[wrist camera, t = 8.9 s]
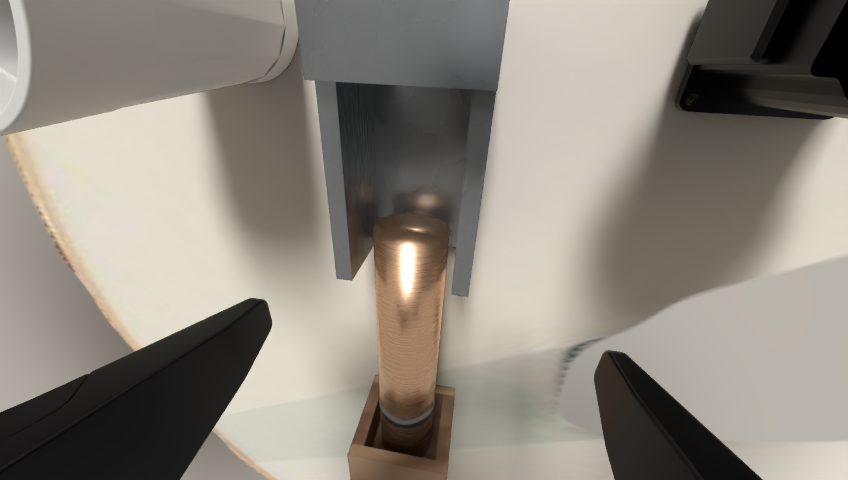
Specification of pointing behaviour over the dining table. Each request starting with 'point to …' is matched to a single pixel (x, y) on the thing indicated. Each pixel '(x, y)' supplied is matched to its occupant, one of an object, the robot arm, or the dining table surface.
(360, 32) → the grey channel holder
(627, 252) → the dining table surface
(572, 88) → the dining table surface
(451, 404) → the socket
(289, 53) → the cup
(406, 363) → the tube
